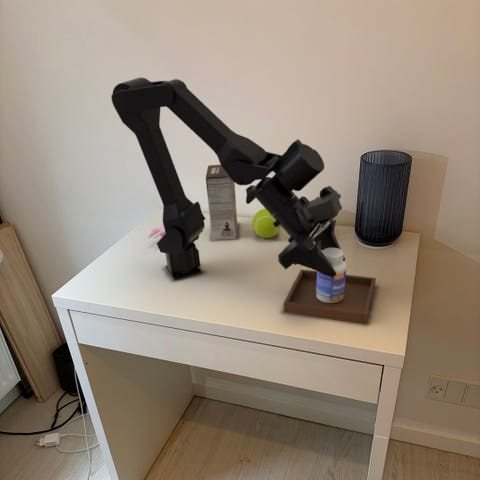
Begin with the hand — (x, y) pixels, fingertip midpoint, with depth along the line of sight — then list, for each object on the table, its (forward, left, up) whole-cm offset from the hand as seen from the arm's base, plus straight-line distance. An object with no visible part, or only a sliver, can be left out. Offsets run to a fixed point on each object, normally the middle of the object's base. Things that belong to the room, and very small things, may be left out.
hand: (339, 268), depth 91 cm
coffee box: (-7, +41, -7) cm, 42 cm away
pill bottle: (-1, +1, -7) cm, 7 cm away
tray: (-1, +1, -7) cm, 7 cm away
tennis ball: (+1, +33, -7) cm, 34 cm away
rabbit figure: (-20, +46, -7) cm, 51 cm away
